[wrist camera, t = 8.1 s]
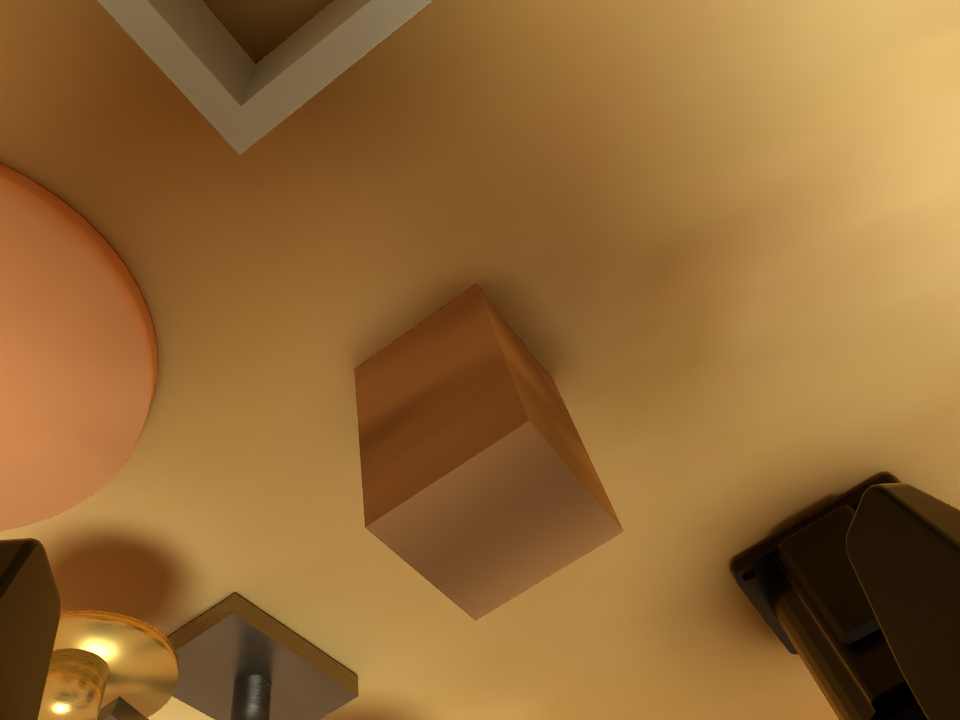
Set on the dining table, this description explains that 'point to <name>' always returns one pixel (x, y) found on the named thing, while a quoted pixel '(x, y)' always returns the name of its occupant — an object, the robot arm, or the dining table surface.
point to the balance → (190, 668)
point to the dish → (65, 356)
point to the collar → (234, 75)
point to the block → (474, 459)
